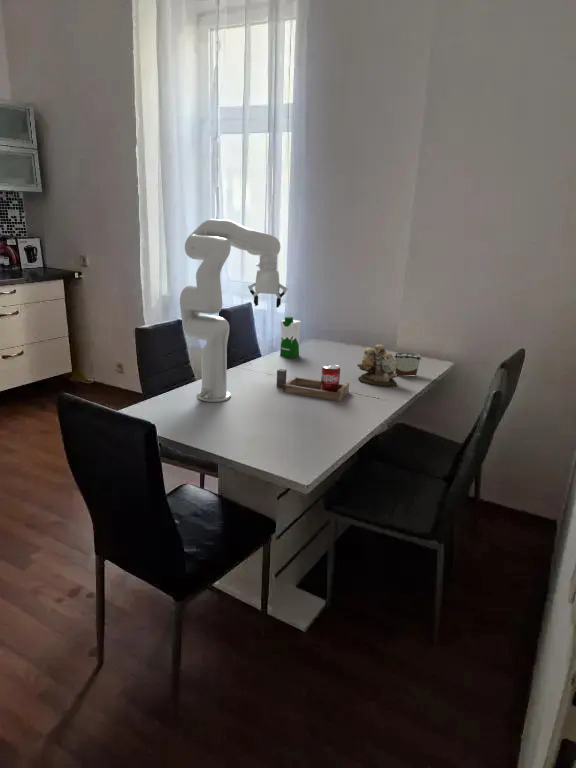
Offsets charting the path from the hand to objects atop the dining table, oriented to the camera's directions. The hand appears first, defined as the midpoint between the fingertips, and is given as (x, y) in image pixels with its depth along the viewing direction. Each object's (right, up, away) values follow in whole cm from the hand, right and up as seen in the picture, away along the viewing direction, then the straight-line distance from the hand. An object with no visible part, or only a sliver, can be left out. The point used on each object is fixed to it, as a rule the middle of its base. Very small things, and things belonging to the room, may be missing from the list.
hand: (267, 306), depth 232 cm
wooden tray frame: (+18, -37, -17) cm, 45 cm away
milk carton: (+10, -20, +35) cm, 42 cm away
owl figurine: (+48, -34, -2) cm, 59 cm away
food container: (+63, -30, +12) cm, 71 cm away
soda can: (+26, -39, -20) cm, 51 cm away
